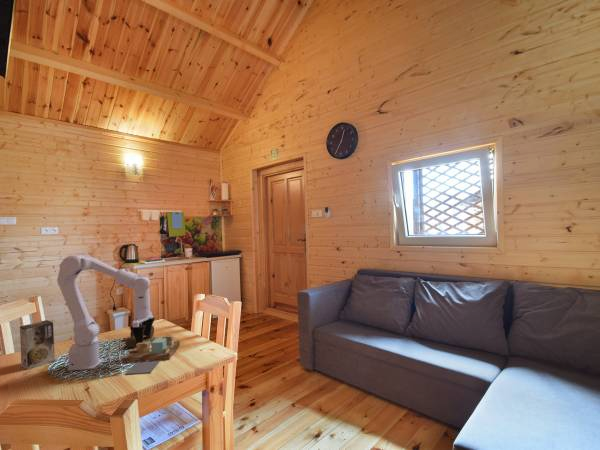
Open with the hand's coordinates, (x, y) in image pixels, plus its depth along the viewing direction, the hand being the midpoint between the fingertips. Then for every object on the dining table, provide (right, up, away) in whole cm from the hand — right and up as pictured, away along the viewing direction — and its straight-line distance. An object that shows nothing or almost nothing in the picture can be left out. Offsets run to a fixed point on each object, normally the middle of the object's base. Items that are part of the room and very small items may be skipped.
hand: (143, 338), depth 127 cm
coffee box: (-41, -9, -3) cm, 42 cm away
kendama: (-12, -8, +20) cm, 24 cm away
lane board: (+2, -8, +3) cm, 9 cm away
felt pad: (+5, -8, -10) cm, 13 cm away
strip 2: (+4, -6, +7) cm, 10 cm away
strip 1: (+4, -6, 0) cm, 8 cm away
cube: (+6, -5, +1) cm, 8 cm away
